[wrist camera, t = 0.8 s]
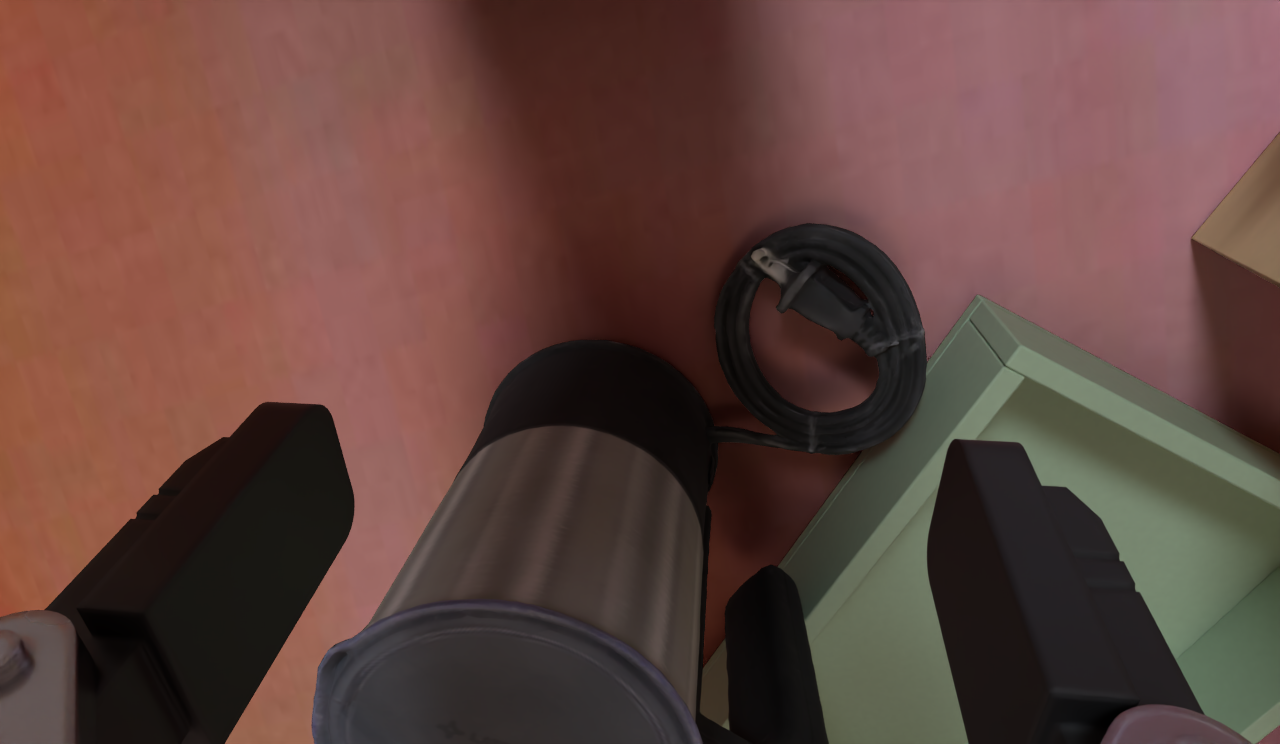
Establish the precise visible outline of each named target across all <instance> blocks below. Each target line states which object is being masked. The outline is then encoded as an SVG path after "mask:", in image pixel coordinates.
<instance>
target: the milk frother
mask: <svg viewBox="0 0 1280 744" xmlns="http://www.w3.org/2000/svg"><path fill="white" fill-rule="evenodd" d="M828 265H829V266H832V267H834V268H836V269H838V270H839V271H841V272H842V273H844V274H845V275H846V276H848V277H849V278H850V279H851V280H852V281H853V282H854V283H855V284H856V285H857V286H858V287H859V288H860V289H861V290H862V292H863V293H864V294H865V295H866V297H867V298H868V299H866V300H864V299H861V298H860V297H859V296H858V295H857V294H856V293H855V292H854V290H852V289H851V288H850V287H849V286H848V285H847V284H846V283H845V282H844V281H843V280H841V279H840V278H839V277H838V276H837V275H836V274H835V273H834V272H832V271H831V270H829V268H828ZM764 278H769V279H772V280H773V281H775V282H777V283H778V284H779V286H780V289H781V298H780V302H779V304H778V305H777V307H776V309H777V310H778V311H779V312H780V313H784V312H785V311H786V310H787V309H793V310H795V311H796V312H798V313H799V314H801V315H802V316H804V317H805V318H807V319H808V320H810V321H812V322H814V323H816V324H818V325H820V326H822V327H825V328H827V329H829V330H831V331H833V332H834V333H835V334H836V336H837V338H838V339H839V340H843V339H846V338H850V339H851V340H853V341H854V342H856V343H857V344H858V345H859V346H860V347H861V348H862V349H863V350H864V351H865V353H866V354H867V355H868V356H869V357H873V356H874V357H875V358H876V359H877V362H878V368H879V378H878V380H877V383H876V387H875V390H874V391H873V393H872V394H871V395H870V396H869V398H868V399H866V400H865V401H864V402H862V403H861V404H860V405H858V406H856V407H854V408H850V409H846V410H842V411H838V412H832V413H827V412H817V411H809V410H806V409H803V408H800V407H798V406H796V405H794V404H792V403H790V402H788V401H786V400H785V399H784V398H782V397H781V396H780V395H779V393H778V392H777V391H776V390H775V389H774V388H773V387H772V386H771V385H770V384H769V382H768V381H767V379H766V378H765V377H764V375H763V373H762V372H761V370H760V368H759V366H758V364H757V361H756V359H755V356H754V353H753V350H752V347H751V343H750V334H749V318H750V310H751V306H752V302H753V299H754V296H755V293H756V291H757V289H758V287H759V285H760V283H761V281H762V280H763V279H764ZM871 309H872V310H873V311H874V316H872V314H871ZM714 328H715V330H716V345H717V352H718V358H719V362H720V365H721V368H722V370H723V372H724V375H725V377H726V379H727V382H728V384H729V385H730V387H731V389H732V390H733V392H734V394H735V395H736V397H737V398H738V399H739V400H740V401H741V402H742V404H743V405H744V406H745V407H746V408H747V409H748V410H749V411H750V413H751V414H752V415H754V416H755V417H756V418H757V419H758V420H759V421H760V422H762V423H763V424H764V425H766V426H767V427H769V428H770V429H772V430H773V431H774V432H775V433H776V434H777V435H769V434H763V433H757V432H753V431H749V430H745V429H741V428H735V427H726V426H714V422H713V419H712V417H711V414H710V412H709V410H708V408H707V406H706V404H705V403H704V401H703V399H702V397H701V396H700V394H699V393H698V392H697V390H696V389H695V388H694V386H693V385H692V384H691V383H690V382H689V381H688V380H687V379H686V378H685V377H684V376H683V375H682V374H681V373H680V372H679V371H677V370H676V369H675V368H674V367H673V366H671V365H670V364H669V363H667V362H666V361H664V360H662V359H660V358H659V357H657V356H655V355H653V354H651V353H649V352H647V351H645V350H643V349H640V348H638V347H634V346H630V345H627V344H623V343H617V342H613V341H609V340H576V341H569V342H564V343H560V344H557V345H553V346H550V347H548V348H545V349H542V350H541V351H539V352H537V353H535V354H533V355H531V356H530V357H528V358H527V359H526V360H524V361H522V362H521V363H519V364H518V365H517V366H516V367H515V368H514V369H513V370H512V371H511V372H510V373H508V375H507V376H506V377H505V379H504V380H503V381H502V382H501V384H500V385H499V387H498V388H497V390H496V391H495V393H494V395H493V397H492V400H491V402H490V405H489V408H488V411H487V414H486V417H485V422H484V427H483V429H482V431H481V433H480V435H479V437H478V439H477V441H476V443H475V445H474V447H473V449H472V451H471V452H470V454H469V456H468V458H467V460H466V461H465V463H464V465H463V466H462V468H461V469H460V471H459V472H458V474H457V476H456V478H455V480H454V482H453V484H452V485H451V487H450V489H449V490H448V492H447V494H446V495H445V497H444V498H443V500H442V502H441V503H440V505H439V507H438V508H437V510H436V511H435V513H434V515H433V516H432V518H431V520H430V521H429V523H428V525H427V526H426V528H425V530H424V532H423V533H422V535H421V537H420V538H419V540H418V542H417V544H416V545H415V547H414V549H413V550H412V552H411V554H410V555H409V557H408V559H407V561H406V562H405V564H404V566H403V567H402V569H401V571H400V572H399V574H398V576H397V577H396V579H395V581H394V582H393V584H392V586H391V587H390V589H389V591H388V592H387V594H386V596H385V597H384V599H383V601H382V602H381V604H380V606H379V607H378V609H377V611H376V612H375V614H374V616H373V617H372V619H371V621H370V622H369V624H368V625H367V626H366V627H365V628H364V629H363V630H362V631H361V632H360V633H358V634H357V635H356V636H354V637H353V638H351V639H348V640H344V641H342V642H340V643H338V644H335V645H334V646H333V647H332V648H330V649H329V650H328V652H327V653H326V655H325V656H324V658H323V660H322V661H321V663H320V665H319V667H318V673H317V683H316V691H315V696H314V707H313V714H312V735H313V738H314V743H315V744H829V741H828V737H827V733H826V728H825V723H824V717H823V711H822V705H821V701H820V696H819V691H818V686H817V680H816V674H815V669H814V665H813V661H812V655H811V649H810V645H809V641H808V636H807V630H806V625H805V621H804V615H803V612H802V605H801V601H800V597H799V593H798V589H797V586H796V584H795V582H794V581H793V579H792V578H791V577H790V576H789V575H788V574H787V573H785V572H784V571H783V570H782V569H781V568H778V567H776V566H773V565H769V566H766V567H763V568H761V569H760V570H759V571H758V572H757V573H756V574H755V575H753V576H752V577H750V578H749V579H748V580H747V581H746V582H745V583H744V584H743V585H742V586H741V587H740V588H739V589H738V590H737V591H736V592H735V593H734V594H733V595H732V597H731V598H730V599H729V601H728V603H727V605H726V607H725V634H726V635H725V642H726V651H727V661H726V669H727V674H728V704H729V713H728V721H729V730H728V729H726V728H724V727H722V726H720V725H719V724H717V723H716V722H714V721H712V720H710V719H708V718H707V717H705V716H704V715H702V714H701V713H700V700H701V687H702V673H703V650H704V632H705V617H706V616H705V613H706V599H707V574H708V555H709V540H710V530H711V517H712V513H711V509H710V508H709V506H707V505H706V504H707V494H708V492H709V490H710V488H711V486H712V484H713V481H714V477H715V473H716V469H717V463H718V443H721V442H734V443H747V444H755V445H761V446H768V447H775V448H783V449H787V450H794V451H802V452H808V453H811V454H813V453H821V454H827V455H842V454H849V453H854V452H857V451H860V450H864V449H867V448H869V447H872V446H875V445H877V444H879V443H882V442H884V441H885V440H887V439H889V438H890V437H892V436H893V435H894V434H895V433H896V432H898V431H899V430H900V429H901V428H902V427H903V426H904V425H905V424H906V423H907V422H908V420H909V419H910V418H911V416H912V415H913V413H914V411H915V410H916V408H917V406H918V404H919V402H920V399H921V397H922V394H923V391H924V388H925V383H926V367H927V357H926V344H925V337H924V335H925V331H924V328H923V326H922V322H921V318H920V314H919V311H918V308H917V305H916V303H915V300H914V297H913V295H912V292H911V290H910V288H909V286H908V284H907V282H906V281H905V279H904V277H903V276H902V274H901V273H900V271H899V270H898V268H897V266H896V265H895V264H894V263H893V262H892V261H891V260H890V259H889V257H888V256H887V255H886V254H885V253H884V252H883V251H881V250H880V249H879V248H878V247H877V246H875V245H874V244H872V243H871V242H869V241H868V240H866V239H865V238H863V237H862V236H860V235H858V234H856V233H854V232H852V231H849V230H846V229H843V228H839V227H835V226H831V225H825V224H812V223H807V224H801V225H797V226H793V227H789V228H785V229H783V230H780V231H778V232H775V233H773V234H772V235H770V236H768V237H767V238H765V239H764V240H762V241H761V242H759V243H758V244H756V245H755V246H754V247H752V249H751V250H750V251H749V252H748V253H747V254H746V255H745V256H744V257H743V258H742V259H741V260H740V261H739V262H738V263H737V265H736V268H735V269H734V271H733V272H732V273H731V275H730V277H729V278H728V280H727V281H726V283H725V284H724V286H723V288H722V291H721V293H720V295H719V299H718V302H717V305H716V310H715V317H714Z"/></svg>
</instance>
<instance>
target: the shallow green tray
mask: <svg viewBox="0 0 1280 744" xmlns="http://www.w3.org/2000/svg"><path fill="white" fill-rule="evenodd" d="M954 439H966V440H986V441H1005V442H1019V443H1020V444H1021V445H1022V446H1023V447H1024V449H1025V451H1026V453H1027V455H1028V457H1029V459H1030V461H1031V463H1032V466H1033V468H1034V470H1035V472H1036V474H1037V476H1038V479H1039V481H1040V483H1041V485H1042V486H1058V487H1067V488H1068V489H1069V490H1070V491H1071V492H1072V493H1074V494H1075V495H1076V496H1077V497H1078V498H1079V499H1080V500H1081V501H1082V502H1083V503H1085V504H1086V505H1087V506H1088V507H1089V508H1090V509H1091V510H1092V511H1093V512H1094V513H1096V514H1097V515H1098V516H1099V517H1100V518H1101V519H1102V521H1103V523H1104V525H1105V527H1106V529H1107V531H1108V533H1109V535H1110V536H1111V538H1112V540H1113V542H1114V544H1115V546H1116V548H1117V550H1118V552H1119V554H1120V555H1119V559H1120V561H1124V563H1125V565H1126V567H1127V569H1128V571H1129V572H1130V574H1131V576H1132V578H1133V580H1134V582H1135V590H1136V592H1140V593H1141V595H1142V597H1143V599H1144V601H1145V603H1146V605H1147V607H1148V608H1149V610H1150V612H1151V614H1152V616H1153V618H1154V620H1155V622H1156V624H1157V626H1158V627H1159V629H1160V631H1161V633H1162V635H1163V637H1164V639H1165V641H1166V643H1167V644H1168V646H1169V648H1170V650H1171V652H1172V654H1173V656H1174V658H1175V660H1176V662H1177V663H1178V665H1179V667H1180V669H1181V671H1182V673H1183V675H1184V677H1185V679H1186V680H1187V682H1188V684H1189V686H1190V688H1191V690H1192V692H1193V694H1194V696H1195V698H1196V699H1197V701H1198V703H1199V705H1200V707H1201V709H1202V710H1203V712H1204V714H1205V715H1206V716H1208V717H1210V718H1212V719H1214V720H1216V721H1219V722H1221V723H1223V724H1224V725H1226V726H1228V727H1229V728H1231V729H1233V730H1234V731H1236V732H1238V733H1239V734H1240V735H1242V736H1243V737H1244V738H1246V739H1247V740H1248V741H1250V742H1251V743H1253V744H1256V743H1258V742H1259V741H1260V740H1261V739H1263V738H1264V737H1265V736H1266V735H1268V734H1269V733H1270V732H1271V731H1273V730H1274V729H1275V728H1276V727H1278V726H1279V725H1280V454H1279V453H1277V452H1275V451H1273V450H1271V449H1269V448H1268V447H1266V446H1264V445H1262V444H1260V443H1258V442H1256V441H1254V440H1252V439H1251V438H1249V437H1247V436H1245V435H1243V434H1241V433H1239V432H1237V431H1235V430H1234V429H1232V428H1230V427H1228V426H1226V425H1224V424H1222V423H1220V422H1218V421H1217V420H1215V419H1213V418H1211V417H1209V416H1207V415H1205V414H1203V413H1201V412H1200V411H1198V410H1196V409H1194V408H1192V407H1190V406H1188V405H1186V404H1184V403H1183V402H1181V401H1179V400H1177V399H1175V398H1173V397H1171V396H1169V395H1167V394H1166V393H1164V392H1162V391H1160V390H1158V389H1156V388H1154V387H1152V386H1150V385H1149V384H1147V383H1145V382H1143V381H1141V380H1139V379H1137V378H1135V377H1133V376H1132V375H1130V374H1128V373H1126V372H1124V371H1122V370H1120V369H1118V368H1117V367H1115V366H1113V365H1111V364H1109V363H1107V362H1105V361H1103V360H1101V359H1100V358H1098V357H1096V356H1094V355H1092V354H1090V353H1088V352H1086V351H1084V350H1083V349H1081V348H1079V347H1077V346H1075V345H1073V344H1071V343H1069V342H1067V341H1066V340H1064V339H1062V338H1060V337H1058V336H1056V335H1054V334H1052V333H1050V332H1049V331H1047V330H1045V329H1043V328H1041V327H1039V326H1037V325H1035V324H1033V323H1032V322H1030V321H1028V320H1026V319H1024V318H1022V317H1020V316H1018V315H1016V314H1015V313H1013V312H1011V311H1009V310H1007V309H1005V308H1003V307H1001V306H999V305H998V304H996V303H994V302H992V301H990V300H988V299H986V298H984V297H982V296H981V295H976V297H975V298H974V300H973V301H972V302H971V304H970V305H969V306H968V308H967V309H966V310H965V312H964V313H963V315H962V316H961V317H960V319H959V320H958V321H957V323H956V324H955V325H954V327H953V328H952V330H951V331H950V332H949V334H948V335H947V336H946V338H945V339H944V340H943V342H942V343H941V345H940V346H939V347H938V349H937V350H936V351H935V353H934V354H933V355H932V357H931V358H930V360H929V361H928V362H927V367H926V383H925V388H924V391H923V394H922V397H921V399H920V402H919V404H918V406H917V408H916V410H915V411H914V413H913V415H912V416H911V418H910V419H909V420H908V422H907V423H906V424H905V425H904V426H903V427H902V428H901V429H900V430H899V431H898V432H896V433H895V434H894V435H893V436H892V437H890V438H889V439H887V440H885V441H884V442H882V443H879V444H877V445H875V446H872V447H869V448H867V449H864V450H863V451H862V452H861V454H860V455H859V456H858V458H857V459H856V460H855V462H854V463H853V464H852V466H851V467H850V469H849V470H848V471H847V473H846V474H845V475H844V477H843V478H842V479H841V481H840V482H839V484H838V485H837V486H836V488H835V489H834V490H833V492H832V493H831V494H830V496H829V497H828V499H827V500H826V501H825V503H824V504H823V505H822V507H821V508H820V509H819V511H818V512H817V514H816V515H815V516H814V518H813V519H812V520H811V522H810V523H809V524H808V526H807V527H806V529H805V530H804V531H803V533H802V534H801V535H800V537H799V538H798V539H797V541H796V542H795V544H794V545H793V546H792V548H791V549H790V550H789V552H788V553H787V554H786V556H785V557H784V559H783V560H782V561H781V563H780V564H779V565H778V568H781V569H782V570H783V571H784V572H785V573H787V574H788V575H789V576H790V577H791V578H792V579H793V581H794V582H795V584H796V586H797V589H798V593H799V597H800V601H801V605H802V612H803V615H804V621H805V625H806V630H807V636H808V641H809V645H810V649H811V655H812V661H813V665H814V669H815V674H816V680H817V686H818V691H819V696H820V701H821V705H822V711H823V717H824V723H825V728H826V733H827V737H828V741H829V744H969V743H968V739H967V735H966V731H965V727H964V723H963V719H962V714H961V710H960V706H959V702H958V698H957V694H956V690H955V686H954V682H953V678H952V673H951V669H950V665H949V661H948V657H947V653H946V649H945V645H944V641H943V636H942V632H941V628H940V624H939V620H938V616H937V612H936V608H935V604H934V600H933V595H932V591H931V587H930V583H929V577H928V569H927V541H928V533H929V528H930V524H931V519H932V515H933V510H934V506H935V502H936V497H937V493H938V489H939V484H940V480H941V475H942V471H943V467H944V462H945V458H946V454H947V450H948V447H949V445H950V443H951V442H952V440H954ZM726 661H727V651H726V642H725V639H724V640H723V642H722V643H721V644H720V646H719V647H718V649H717V650H716V651H715V653H714V654H713V655H712V657H711V658H710V659H709V661H708V662H707V664H706V665H705V666H704V668H703V673H702V687H701V700H700V713H701V714H702V715H704V716H705V717H707V718H708V719H710V720H712V721H714V722H716V723H717V724H719V725H720V726H722V727H724V728H726V729H728V730H729V721H728V713H729V704H728V674H727V669H726Z"/></svg>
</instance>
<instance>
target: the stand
mask: <svg viewBox="0 0 1280 744" xmlns="http://www.w3.org/2000/svg"><path fill="white" fill-rule="evenodd" d="M1192 239H1193V240H1195V241H1196V242H1198V243H1200V244H1202V245H1203V246H1205V247H1207V248H1209V249H1211V250H1212V251H1214V252H1216V253H1218V254H1220V255H1221V256H1223V257H1225V258H1227V259H1229V260H1230V261H1232V262H1234V263H1236V264H1238V265H1239V266H1241V267H1243V268H1245V269H1247V270H1248V271H1250V272H1252V273H1254V274H1256V275H1257V276H1259V277H1261V278H1263V279H1265V280H1266V281H1268V282H1270V283H1272V284H1273V285H1275V286H1277V287H1279V288H1280V132H1279V134H1278V135H1277V136H1276V137H1275V138H1274V140H1273V141H1272V142H1271V143H1270V144H1269V146H1268V147H1267V148H1266V149H1265V150H1264V152H1263V153H1262V154H1261V155H1260V156H1259V158H1258V159H1257V160H1256V161H1255V162H1254V164H1253V165H1252V166H1251V167H1250V168H1249V170H1248V171H1247V172H1246V173H1245V174H1244V176H1243V177H1242V178H1241V179H1240V180H1239V182H1238V183H1237V184H1236V185H1235V186H1234V188H1233V189H1232V190H1231V191H1230V192H1229V193H1228V195H1227V196H1226V197H1225V198H1224V199H1223V201H1222V202H1221V203H1220V204H1219V205H1218V207H1217V208H1216V209H1215V210H1214V211H1213V213H1212V214H1211V215H1210V216H1209V217H1208V219H1207V220H1206V221H1205V222H1204V223H1203V225H1202V226H1201V227H1200V228H1199V229H1198V231H1197V232H1196V233H1195V234H1194V235H1193V237H1192Z"/></svg>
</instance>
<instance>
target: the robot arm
mask: <svg viewBox="0 0 1280 744" xmlns="http://www.w3.org/2000/svg"><path fill="white" fill-rule="evenodd" d="M353 517H354V494H353V490H352V486H351V482H350V479H349V475H348V472H347V468H346V464H345V461H344V457H343V454H342V450H341V446H340V443H339V439H338V435H337V432H336V428H335V425H334V421H333V418H332V415H331V413H330V412H329V410H328V409H327V408H326V407H325V406H323V405H318V404H298V403H279V402H265V403H262V404H261V405H259V406H258V407H257V408H256V409H255V410H254V411H253V412H252V413H251V414H250V415H249V417H248V418H247V419H246V420H245V421H244V422H243V423H242V424H241V425H240V426H239V428H238V429H237V430H236V431H235V432H234V433H233V434H232V435H231V436H230V438H229V437H223V438H221V439H219V440H218V441H216V442H215V443H213V444H211V445H210V446H208V447H207V448H205V449H204V450H202V451H200V452H199V453H197V454H196V455H194V456H192V457H191V458H189V459H188V460H186V461H185V462H184V463H183V464H182V465H181V466H180V467H179V468H178V469H177V470H176V471H175V472H174V473H173V475H172V476H171V477H170V478H169V479H168V480H167V481H166V482H165V483H164V484H163V485H162V486H161V487H160V488H159V494H158V495H153V496H152V497H151V498H150V499H149V500H148V501H147V502H146V503H145V504H144V505H143V506H142V507H141V508H140V510H139V511H138V512H137V517H136V519H130V520H129V521H128V522H127V523H126V524H125V525H124V526H123V528H122V529H121V530H120V531H119V532H118V533H117V534H116V535H115V536H114V537H113V538H112V539H111V540H110V541H109V542H108V543H107V545H106V546H105V547H104V548H103V549H102V550H101V551H100V552H99V553H98V554H97V555H96V556H95V557H94V558H93V559H92V560H91V561H90V563H89V564H88V565H87V566H86V567H85V568H84V569H83V570H82V571H81V572H80V573H79V574H78V575H77V576H76V577H75V578H74V579H73V581H72V582H71V583H70V584H69V585H68V586H67V587H66V588H65V589H64V590H63V591H62V592H61V593H60V594H59V595H58V596H57V598H56V599H55V600H54V601H53V602H52V603H51V604H50V605H49V606H48V607H47V608H46V609H45V610H32V611H23V612H18V613H13V614H10V615H6V616H3V617H0V744H225V742H226V740H227V739H228V737H229V735H230V734H231V732H232V730H233V729H234V727H235V725H236V724H237V722H238V720H239V718H240V717H241V715H242V713H243V712H244V710H245V708H246V707H247V705H248V703H249V702H250V700H251V698H252V697H253V695H254V693H255V692H256V690H257V688H258V687H259V685H260V683H261V682H262V680H263V678H264V677H265V675H266V673H267V672H268V670H269V668H270V667H271V665H272V663H273V662H274V660H275V658H276V657H277V655H278V653H279V652H280V650H281V648H282V647H283V645H284V643H285V642H286V640H287V638H288V636H289V635H290V633H291V631H292V630H293V628H294V626H295V625H296V623H297V621H298V620H299V618H300V616H301V615H302V613H303V611H304V610H305V608H306V606H307V605H308V603H309V601H310V600H311V598H312V596H313V595H314V593H315V591H316V590H317V588H318V586H319V585H320V583H321V581H322V580H323V578H324V576H325V575H326V573H327V571H328V570H329V568H330V566H331V565H332V563H333V561H334V560H335V558H336V556H337V554H338V553H339V551H340V549H341V548H342V546H343V544H344V543H345V541H346V539H347V537H348V535H349V532H350V530H351V526H352V522H353ZM1119 555H1120V554H1119V552H1118V550H1117V548H1116V546H1115V544H1114V542H1113V540H1112V538H1111V536H1110V535H1109V533H1108V531H1107V529H1106V527H1105V525H1104V523H1103V521H1102V519H1101V518H1100V517H1099V516H1098V515H1097V514H1096V513H1094V512H1093V511H1092V510H1091V509H1090V508H1089V507H1088V506H1087V505H1086V504H1085V503H1083V502H1082V501H1081V500H1080V499H1079V498H1078V497H1077V496H1076V495H1075V494H1074V493H1072V492H1071V491H1070V490H1069V489H1068V488H1067V487H1058V486H1042V485H1041V483H1040V481H1039V479H1038V476H1037V474H1036V472H1035V470H1034V468H1033V466H1032V463H1031V461H1030V459H1029V457H1028V455H1027V453H1026V451H1025V449H1024V447H1023V446H1022V445H1021V444H1020V443H1019V442H1005V441H986V440H966V439H954V440H952V442H951V443H950V445H949V447H948V450H947V454H946V458H945V462H944V467H943V471H942V475H941V480H940V484H939V489H938V493H937V497H936V502H935V506H934V510H933V515H932V519H931V524H930V528H929V533H928V541H927V569H928V577H929V583H930V587H931V591H932V595H933V600H934V604H935V608H936V612H937V616H938V620H939V624H940V628H941V632H942V636H943V641H944V645H945V649H946V653H947V657H948V661H949V665H950V669H951V673H952V678H953V682H954V686H955V690H956V694H957V698H958V702H959V706H960V710H961V714H962V719H963V723H964V727H965V731H966V735H967V739H968V743H969V744H1253V743H1251V742H1250V741H1248V740H1247V739H1246V738H1244V737H1243V736H1242V735H1240V734H1239V733H1238V732H1236V731H1234V730H1233V729H1231V728H1229V727H1228V726H1226V725H1224V724H1223V723H1221V722H1219V721H1216V720H1214V719H1212V718H1210V717H1208V716H1206V715H1205V714H1204V712H1203V710H1202V709H1201V707H1200V705H1199V703H1198V701H1197V699H1196V698H1195V696H1194V694H1193V692H1192V690H1191V688H1190V686H1189V684H1188V682H1187V680H1186V679H1185V677H1184V675H1183V673H1182V671H1181V669H1180V667H1179V665H1178V663H1177V662H1176V660H1175V658H1174V656H1173V654H1172V652H1171V650H1170V648H1169V646H1168V644H1167V643H1166V641H1165V639H1164V637H1163V635H1162V633H1161V631H1160V629H1159V627H1158V626H1157V624H1156V622H1155V620H1154V618H1153V616H1152V614H1151V612H1150V610H1149V608H1148V607H1147V605H1146V603H1145V601H1144V599H1143V597H1142V595H1141V593H1140V592H1136V590H1135V582H1134V580H1133V578H1132V576H1131V574H1130V572H1129V571H1128V569H1127V567H1126V565H1125V563H1124V561H1120V559H1119Z"/></svg>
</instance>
